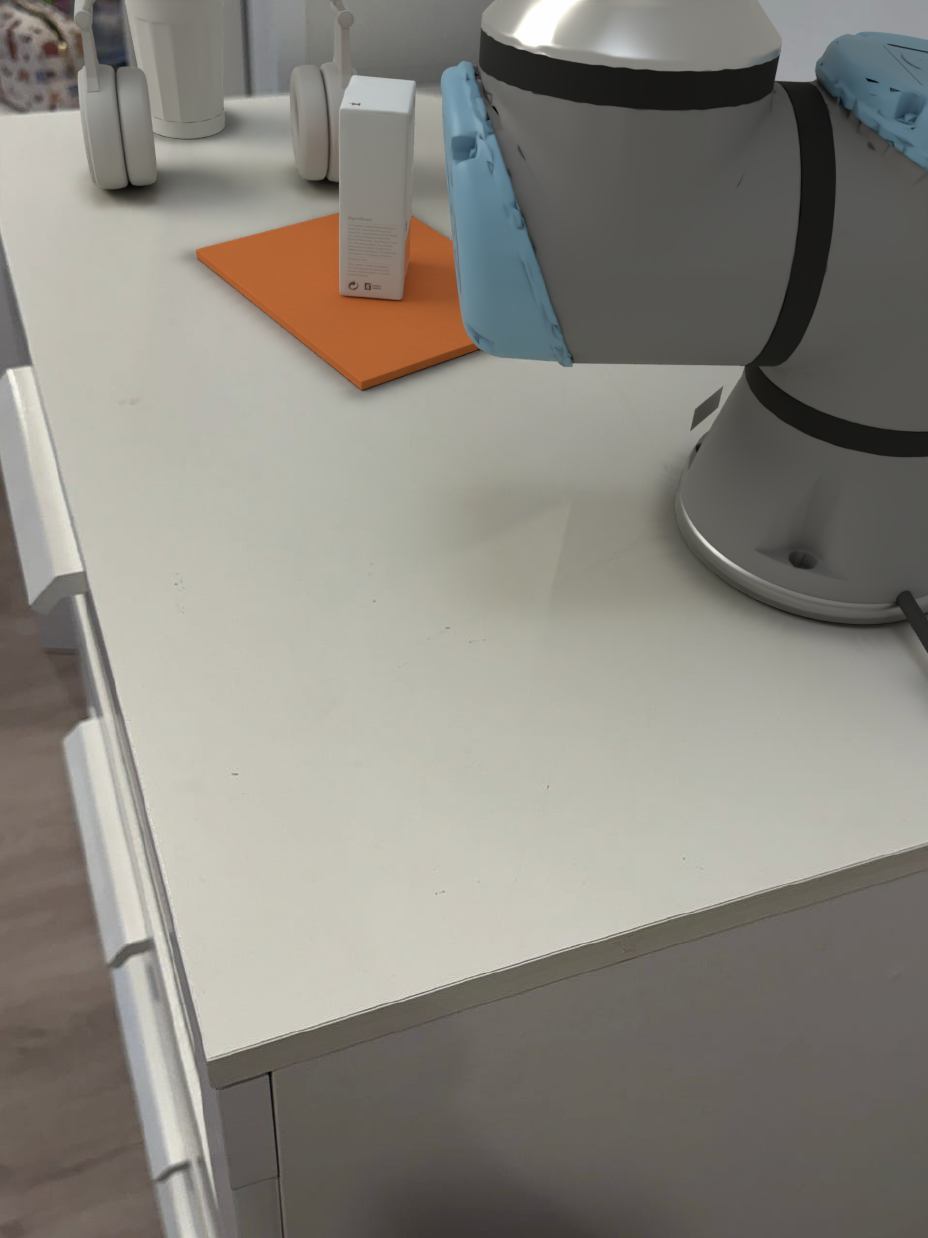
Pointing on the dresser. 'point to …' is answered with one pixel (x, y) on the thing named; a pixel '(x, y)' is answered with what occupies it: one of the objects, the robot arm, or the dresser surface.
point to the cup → (181, 63)
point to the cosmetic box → (375, 186)
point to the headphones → (125, 122)
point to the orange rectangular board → (350, 299)
